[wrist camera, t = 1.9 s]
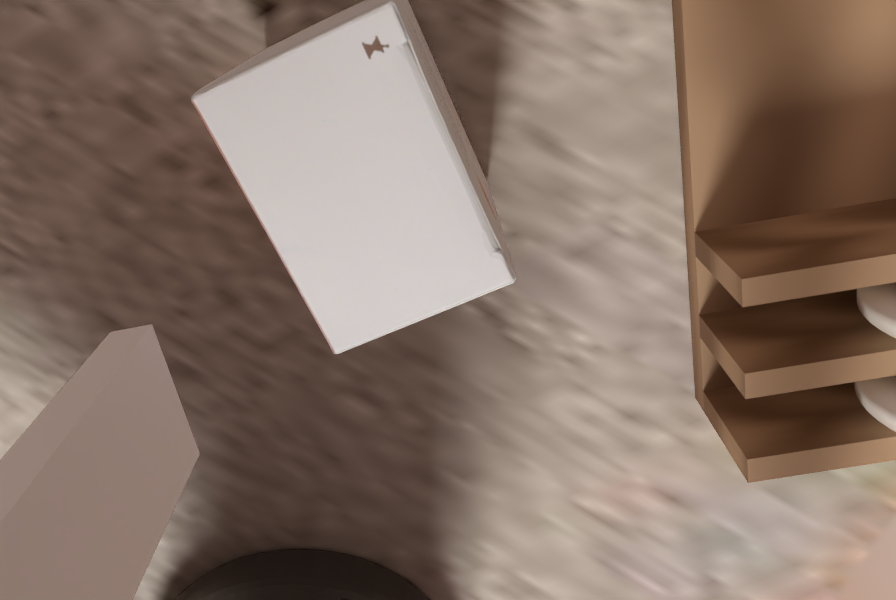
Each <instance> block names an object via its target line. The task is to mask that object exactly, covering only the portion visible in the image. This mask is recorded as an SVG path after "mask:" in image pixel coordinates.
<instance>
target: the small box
mask: <svg viewBox="0 0 896 600" xmlns="http://www.w3.org/2000/svg"><path fill="white" fill-rule="evenodd" d="M191 102H192V103H193V105H194V107H195V108H196V110H197V112H198V114H199V115H200V117H201V119H202V121H203V122H204V124H205V126H206V128H207V130H208V131H209V133H210V135H211V137H212V139H213V140H214V142H215V144H216V146H217V147H218V149H219V151H220V153H221V154H222V156H223V158H224V160H225V161H226V163H227V165H228V167H229V168H230V170H231V172H232V174H233V175H234V177H235V179H236V181H237V183H238V184H239V186H240V188H241V190H242V191H243V193H244V195H245V197H246V199H247V200H248V202H249V204H250V206H251V207H252V209H253V211H254V213H255V214H256V216H257V218H258V220H259V222H260V223H261V225H262V227H263V229H264V230H265V232H266V234H267V236H268V237H269V239H270V241H271V243H272V245H273V246H274V248H275V250H276V252H277V253H278V255H279V257H280V259H281V260H282V262H283V264H284V266H285V268H286V269H287V271H288V273H289V275H290V276H291V278H292V280H293V282H294V283H295V285H296V287H297V289H298V291H299V292H300V294H301V296H302V298H303V300H304V301H305V303H306V305H307V307H308V309H309V310H310V312H311V314H312V316H313V317H314V319H315V321H316V323H317V325H318V326H319V328H320V330H321V332H322V333H323V335H324V337H325V339H326V340H327V342H328V344H329V346H330V348H331V350H332V352H333V354H340V353H342V352H344V351H347V350H349V349H352V348H354V347H357V346H359V345H362V344H364V343H367V342H369V341H372V340H374V339H377V338H379V337H381V336H384V335H386V334H389V333H391V332H394V331H396V330H399V329H401V328H404V327H406V326H409V325H411V324H414V323H416V322H419V321H421V320H424V319H426V318H429V317H431V316H433V315H436V314H438V313H441V312H443V311H446V310H448V309H451V308H453V307H456V306H458V305H461V304H463V303H466V302H468V301H470V300H473V299H475V298H478V297H480V296H483V295H485V294H487V293H490V292H492V291H495V290H497V289H500V288H502V287H505V286H507V285H510V284H512V283H514V282H515V280H516V273H515V270H514V267H513V263H512V260H511V257H510V253H509V250H508V247H507V244H506V241H505V238H504V234H503V231H502V228H501V225H500V222H499V219H498V215H497V212H496V209H495V206H494V202H493V199H492V195H491V192H490V189H489V186H488V183H487V180H486V178H485V176H484V174H483V171H482V169H481V167H480V165H479V162H478V160H477V158H476V155H475V153H474V151H473V149H472V146H471V144H470V142H469V139H468V137H467V135H466V132H465V130H464V128H463V126H462V123H461V121H460V119H459V116H458V114H457V112H456V110H455V107H454V105H453V103H452V101H451V98H450V96H449V94H448V91H447V89H446V87H445V84H444V82H443V80H442V77H441V75H440V73H439V70H438V68H437V66H436V63H435V61H434V59H433V56H432V54H431V52H430V49H429V47H428V45H427V43H426V40H425V38H424V36H423V33H422V31H421V29H420V27H419V24H418V22H417V20H416V17H415V15H414V13H413V11H412V8H411V6H410V4H409V1H408V0H364V1H362V2H360V3H358V4H356V5H354V6H351V7H349V8H347V9H345V10H343V11H341V12H339V13H336V14H334V15H332V16H330V17H328V18H326V19H324V20H322V21H320V22H318V23H316V24H314V25H312V26H310V27H308V28H305V29H303V30H301V31H299V32H297V33H295V34H294V35H292V36H290V37H288V38H286V39H284V40H282V41H280V42H278V43H276V44H274V45H272V46H270V47H268V48H266V49H264V50H262V51H261V52H259V53H257V54H256V55H254V56H253V57H251V58H249V59H248V60H246V61H245V62H243V63H241V64H240V65H238V66H236V67H235V68H233V69H232V70H230V71H228V72H227V73H225V74H224V75H222V76H220V77H218V78H217V79H215V80H213V81H211V82H210V83H208V84H207V85H205V86H204V87H202V88H201V89H199V90H198V91H196V92H195V93H194V94H193V95H192V97H191Z"/></svg>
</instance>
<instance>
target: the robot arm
mask: <svg viewBox="0 0 896 600" xmlns="http://www.w3.org/2000/svg"><path fill="white" fill-rule="evenodd" d="M199 455H200V453H199V450H198V447H197V445H196V442H195V439H194V437H193V434H192V431H191V428H190V426H189V423H188V420H187V418H186V415H185V412H184V409H183V407H182V404H181V401H180V399H179V396H178V393H177V391H176V388H175V385H174V382H173V380H172V377H171V374H170V372H169V369H168V366H167V363H166V361H165V358H164V355H163V353H162V350H161V347H160V344H159V342H158V339H157V336H156V334H155V331H154V328H153V325H152V324H149V325H144V326H139V327H134V328H129V329H123V330H118V331H113V332H110V333H109V334H108V335H107V337H106V338H105V339H104V340H103V341H102V342H101V343H100V345H99V346H98V347H97V348H96V349H95V350H94V352H93V353H92V354H91V355H90V356H89V357H88V359H87V360H86V361H85V362H84V363H83V364H82V366H81V367H80V368H79V369H78V370H77V371H76V373H75V374H74V375H73V376H72V377H71V378H70V380H69V381H68V382H67V383H66V384H65V385H64V387H63V388H62V389H61V390H60V391H59V392H58V393H57V395H56V396H55V397H54V398H53V399H52V400H51V402H50V403H49V404H48V405H47V406H46V407H45V409H44V410H43V411H42V412H41V413H40V414H39V416H38V417H37V418H36V419H35V420H34V421H33V423H32V424H31V425H30V426H29V427H28V428H27V430H26V431H25V432H24V433H23V434H22V435H21V437H20V438H19V439H18V440H17V441H16V442H15V443H14V445H13V446H12V447H11V448H10V449H9V450H8V452H7V453H6V454H5V455H4V456H3V457H2V459H1V460H0V600H133V597H134V595H135V593H136V591H137V589H138V587H139V585H140V582H141V580H142V578H143V576H144V574H145V572H146V569H147V567H148V565H149V563H150V561H151V559H152V556H153V554H154V552H155V550H156V548H157V546H158V543H159V541H160V539H161V537H162V535H163V533H164V530H165V528H166V526H167V524H168V522H169V520H170V517H171V515H172V513H173V511H174V509H175V507H176V504H177V502H178V500H179V498H180V496H181V494H182V491H183V489H184V487H185V485H186V483H187V481H188V478H189V476H190V474H191V472H192V470H193V468H194V465H195V463H196V461H197V459H198V457H199ZM176 600H429V599H428V598H427V597H426V596H425V595H424V594H423V593H421V592H420V591H419V590H418V589H417V588H416V587H414V586H413V585H412V584H410V583H409V582H407V581H406V580H404V579H403V578H401V577H400V576H398V575H396V574H394V573H393V572H391V571H389V570H387V569H385V568H383V567H380V566H378V565H376V564H373V563H371V562H368V561H365V560H362V559H359V558H356V557H352V556H348V555H344V554H339V553H334V552H327V551H319V550H280V551H272V552H266V553H260V554H256V555H252V556H248V557H244V558H241V559H238V560H235V561H232V562H230V563H227V564H225V565H223V566H220V567H218V568H216V569H214V570H212V571H211V572H209V573H207V574H206V575H204V576H202V577H201V578H199V579H198V580H197V581H195V582H194V583H193V584H191V585H190V586H189V587H188V588H187V589H186V590H185V591H183V592H182V593H181V594H180V595H179V597H178V598H177V599H176Z"/></svg>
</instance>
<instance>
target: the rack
mask: <svg viewBox="0 0 896 600" xmlns="http://www.w3.org/2000/svg"><path fill="white" fill-rule="evenodd" d="M672 9H673V26H674V43H675V60H676V77H677V94H678V111H679V128H680V145H681V162H682V179H683V196H684V213H685V230H686V247H687V264H688V281H689V298H690V315H691V332H692V349H693V366H694V383H695V398H696V399H697V401H698V403H699V404H700V406H701V408H702V409H703V411H704V412H705V414H706V416H707V417H708V419H709V420H710V422H711V424H712V425H713V427H714V429H715V430H716V432H717V433H718V435H719V437H720V438H721V440H722V441H723V443H724V445H725V446H726V448H727V450H728V451H729V453H730V454H731V456H732V458H733V459H734V461H735V462H736V464H737V466H738V467H739V469H740V470H741V472H742V474H743V475H744V477H745V479H746V480H747V482H748V483H749V482H756V481H762V480H769V479H775V478H782V477H788V476H795V475H801V474H808V473H814V472H821V471H827V470H834V469H840V468H847V467H853V466H860V465H866V464H872V463H879V462H885V461H892V460H896V0H672Z"/></svg>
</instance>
